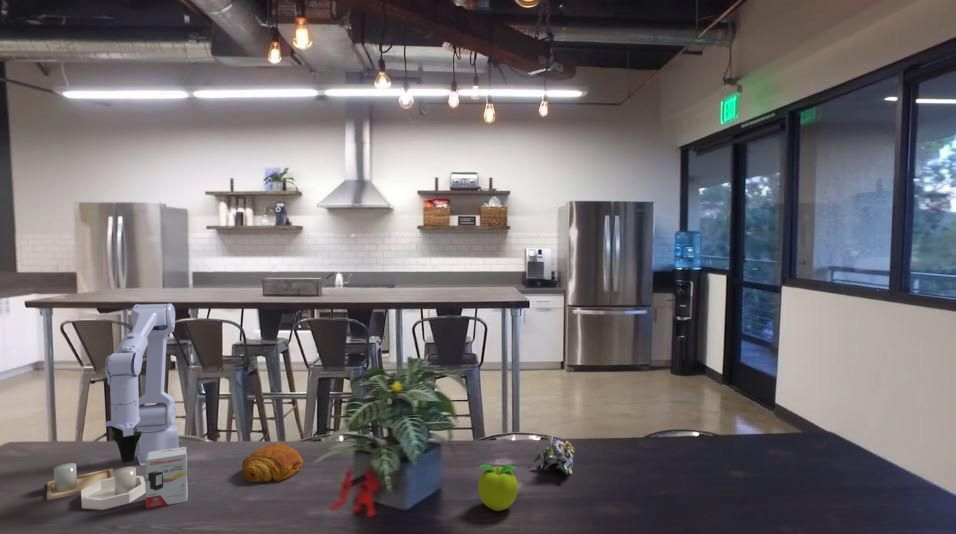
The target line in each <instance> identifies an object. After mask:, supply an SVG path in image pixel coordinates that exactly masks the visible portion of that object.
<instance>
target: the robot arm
mask: <svg viewBox="0 0 956 534" xmlns="http://www.w3.org/2000/svg"><path fill="white" fill-rule="evenodd" d="M130 311H131V312H130V321H131V323H132V325H133V326H132V328H131V332H130V333H126V335H124V336H123V338H122V339H121V341H120V342H119V345H118V347H117V349H116V351H115V352H113V353H112V354H110V355H108V356H107V357H106V359H105V362H104V363H105V365H104V372H105V376H106V377H107V378H106V379H107V385H108V386H109V389H110V419H111V420H108V421H105V423H104V424H105V427H110V429H111V430H112V432H113V433H114V434H112V438H113V440H114V442H116V445H117V447H118V451H119V453H120V454H119V455H120V458H121V462H122V463H123V464H126V463H131V462H133V461H134V459H135V455H136V450H137V446H138V444H139V454H138V455H137V456H136V457H137V459H138V463H139V466H141V467H143V466H146V454H147V453H149V452H152V451H159V450H166V449H173V448H180V445H179V443H180V442H179V430H178V425H177V424H174V423H175V420H176V416H177V415H176V413H177V411H176V405H175V404H176V402H175V401H176V400H175V399H174V397H173V396H171V395H169V394H168V393H167V392H165V386H166V385H165V384H166V383H165V382H166V381H165V380H166V360H167V359H166V358H167V341H168V337H169V334H172V333H174V332H175V327H176V309H175V307H174V305H173V304H172V303H156V304H154V303H151V304H150V303H149V304H138V303H137V304H134V306H133V307H132V308H131V310H130ZM146 349H147V350H146ZM145 351H146V365H145V383H144V385H145V388H144V394H143V395H142V396H139V375H140V374H141V372H142V366H143V365H142V364H143V362H144V361H143V360H144V357H143V356H144V354H145ZM159 403H162V404H159ZM146 404H148V405H146ZM135 429H136V431H135Z"/></svg>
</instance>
